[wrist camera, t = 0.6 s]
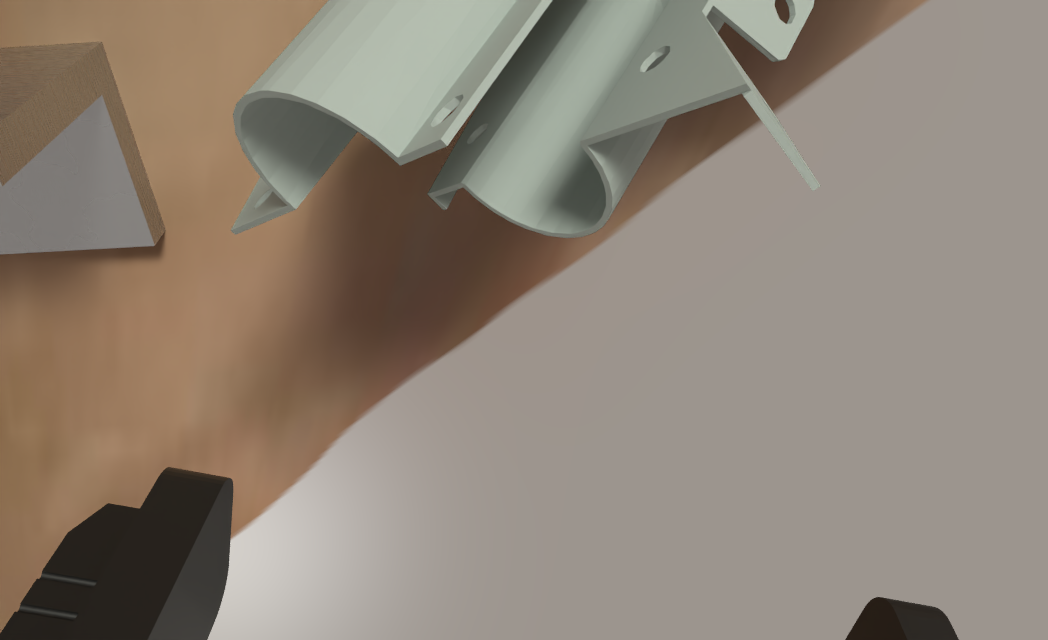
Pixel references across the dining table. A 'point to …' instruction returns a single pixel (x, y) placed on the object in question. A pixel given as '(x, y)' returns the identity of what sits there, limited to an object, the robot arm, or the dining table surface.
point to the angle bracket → (69, 155)
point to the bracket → (502, 96)
